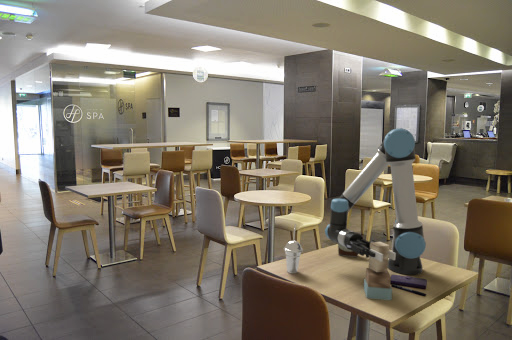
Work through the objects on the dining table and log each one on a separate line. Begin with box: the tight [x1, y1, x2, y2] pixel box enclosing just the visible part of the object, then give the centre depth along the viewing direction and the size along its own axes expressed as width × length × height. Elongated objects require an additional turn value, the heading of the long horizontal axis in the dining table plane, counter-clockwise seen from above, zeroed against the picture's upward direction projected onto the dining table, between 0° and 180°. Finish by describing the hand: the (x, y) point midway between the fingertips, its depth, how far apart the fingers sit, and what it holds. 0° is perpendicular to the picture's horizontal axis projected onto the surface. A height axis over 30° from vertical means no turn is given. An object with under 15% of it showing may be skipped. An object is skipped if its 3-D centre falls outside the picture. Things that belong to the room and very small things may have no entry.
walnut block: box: [365, 267, 392, 289], centre depth 154 cm, size 8×8×4 cm
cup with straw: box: [283, 223, 304, 274], centre depth 175 cm, size 8×9×20 cm
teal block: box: [363, 278, 393, 301], centre depth 155 cm, size 9×9×4 cm
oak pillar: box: [367, 241, 390, 272], centre depth 154 cm, size 5×5×10 cm
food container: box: [337, 243, 359, 258], centre depth 203 cm, size 12×6×10 cm, turn 77°
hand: (388, 257), depth 149 cm, fingers open, 5 cm apart
